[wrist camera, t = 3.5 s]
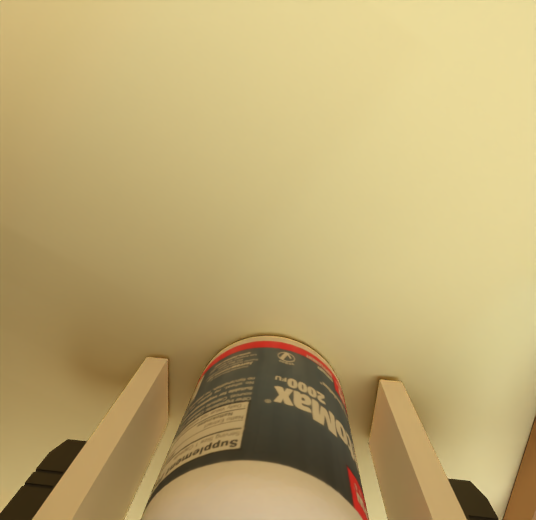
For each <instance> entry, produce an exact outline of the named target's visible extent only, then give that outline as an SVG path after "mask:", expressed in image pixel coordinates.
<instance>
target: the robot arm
mask: <svg viewBox="0 0 536 520" xmlns="http://www.w3.org/2000/svg"><path fill="white" fill-rule="evenodd" d="M167 425H168V359H164V358H154V357H147V358H146V359H145V360H144V362H143V363H142V365H141V366H140V367H139V369H138V370H137V372H136V373H135V375H134V376H133V377H132V379H131V380H130V382H129V383H128V384H127V386H126V387H125V389H124V390H123V391H122V393H121V394H120V396H119V397H118V399H117V400H116V401H115V403H114V404H113V406H112V407H111V408H110V410H109V411H108V413H107V414H106V416H105V417H104V418H103V420H102V421H101V423H100V424H99V425H98V427H97V428H96V430H95V431H94V433H93V434H92V435H91V437H90V438H89V440H88V441H79V440H69V439H68V440H66V441H65V442H63V443H62V444H61V445H59V446H58V447H56V448H55V449H54V450H52V451H51V452H49V454H48V455H47V456H46V457H45V459H44V460H43V461H42V462H41V464H40V465H39V466H38V467H37V469H36V472H33V474H32V475H31V476H30V477H29V478H28V480H27V481H26V482H25V485H24V486H22V487H21V488H20V490H19V491H18V492H17V493H16V495H15V496H14V497H13V498H12V500H11V501H10V502H9V503H8V505H7V506H6V507H5V508H4V509H3V511H2V512H1V513H0V520H124V519H125V516H126V514H127V512H128V510H129V508H130V505H131V503H132V501H133V499H134V497H135V495H136V492H137V490H138V488H139V486H140V484H141V481H142V479H143V477H144V475H145V473H146V470H147V468H148V466H149V464H150V462H151V460H152V457H153V455H154V453H155V451H156V449H157V446H158V444H159V442H160V440H161V438H162V435H163V433H164V431H165V429H166V427H167ZM368 444H369V448H370V452H371V456H372V459H373V463H374V467H375V471H376V475H377V479H378V483H379V487H380V491H381V494H382V498H383V502H384V506H385V510H386V514H387V518H388V520H498V517H497V515H496V514H495V512H494V510H493V508H492V506H491V505H490V503H489V501H488V499H487V498H486V497H485V496H484V495H483V494H482V493H481V492H480V491H479V490H478V489H477V488H476V487H475V486H474V485H473V484H472V483H471V482H470V481H465V480H456V479H447V476H446V474H445V472H444V470H443V468H442V466H441V464H440V462H439V459H438V457H437V455H436V453H435V451H434V449H433V447H432V445H431V442H430V440H429V438H428V436H427V434H426V432H425V430H424V428H423V426H422V423H421V421H420V419H419V417H418V415H417V413H416V411H415V409H414V406H413V404H412V402H411V400H410V398H409V396H408V394H407V392H406V389H405V387H404V385H403V383H402V381H392V380H381V379H380V381H379V386H378V392H377V398H376V404H375V409H374V415H373V421H372V426H371V432H370V438H369V443H368Z"/></svg>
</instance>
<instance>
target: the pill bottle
mask: <svg viewBox="0 0 536 520" xmlns="http://www.w3.org/2000/svg"><path fill="white" fill-rule="evenodd" d="M141 520H369V517H368V513H367V508H366V503H365V499H364V494H363V490H362V485H361V480H360V475H359V470H358V465H357V460H356V456H355V451H354V446H353V441H352V435H351V430H350V426H349V421H348V415H347V410H346V405H345V400H344V395H343V392H342V388H341V385H340V382H339V380H338V378H337V376H336V374H335V372H334V371H333V369H332V368H331V366H330V365H329V364H328V363H327V362H326V360H325V359H323V358H322V357H321V356H320V355H319V354H318V353H317V352H316V351H314V350H313V349H311V348H310V347H308V346H306V345H304V344H302V343H300V342H297V341H295V340H292V339H288V338H284V337H278V336H256V337H250V338H247V339H243V340H240V341H238V342H235V343H233V344H231V345H229V346H228V347H226V348H224V349H223V350H222V351H220V352H219V353H218V354H217V355H216V356H215V357H214V358H213V359H212V360H211V361H210V362H209V364H208V365H207V366H206V368H205V370H204V371H203V373H202V375H201V377H200V379H199V381H198V384H197V386H196V388H195V391H194V393H193V396H192V398H191V400H190V402H189V405H188V407H187V409H186V412H185V414H184V417H183V419H182V421H181V424H180V426H179V428H178V431H177V433H176V435H175V438H174V440H173V442H172V445H171V447H170V450H169V451H168V454H167V456H166V459H165V462H164V464H163V466H162V468H161V471H160V473H159V476H158V478H157V481H156V483H155V486H154V488H153V490H152V493H151V495H150V498H149V500H148V502H147V505H146V507H145V510H144V513H143V515H142V518H141Z"/></svg>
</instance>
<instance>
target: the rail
mask: <svg viewBox="0 0 536 520" xmlns="http://www.w3.org/2000/svg"><path fill="white" fill-rule="evenodd" d="M503 520H536V419H535V422H534V425H533V428H532V431H531V434H530V437H529V441H528V444H527V447H526V450H525V453H524V456H523V459H522V462H521V466H520V469H519V472H518V475H517V478H516V481H515V484H514V487H513V491H512V494H511V497H510V500H509V503H508V506H507V509H506V512H505V516H504V519H503Z"/></svg>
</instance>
